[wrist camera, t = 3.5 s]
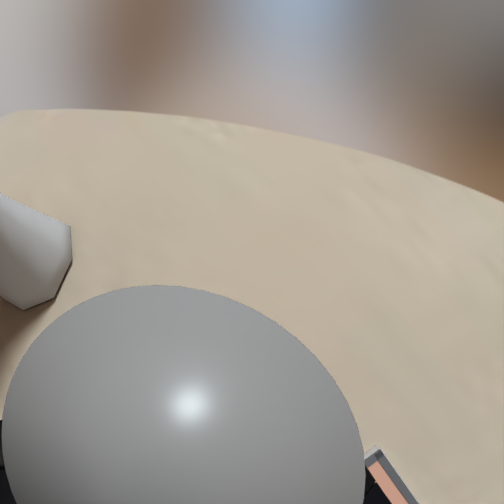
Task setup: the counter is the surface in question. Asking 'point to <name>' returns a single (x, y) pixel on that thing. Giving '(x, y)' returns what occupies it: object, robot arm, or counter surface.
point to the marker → (176, 408)
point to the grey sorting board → (388, 477)
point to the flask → (31, 254)
